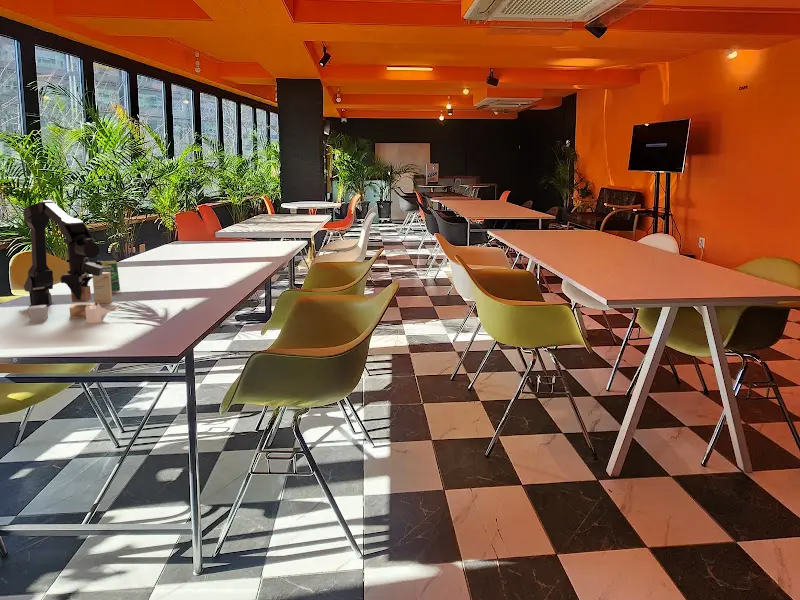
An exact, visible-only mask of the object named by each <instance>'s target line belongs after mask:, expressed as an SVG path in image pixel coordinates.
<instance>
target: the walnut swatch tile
mask: <svg viewBox="0 0 800 600" xmlns="http://www.w3.org/2000/svg"><path fill="white" fill-rule="evenodd" d="M101 307H102V308H105V309H108V310H110V311H117V310H118V309H120V308H121V307H122V305H120V304H118V305H115V304H114V305H102V306H101ZM119 307H120V308H119ZM116 309H117V310H116Z"/></svg>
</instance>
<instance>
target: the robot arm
mask: <svg viewBox="0 0 800 600" xmlns="http://www.w3.org/2000/svg"><path fill="white" fill-rule="evenodd" d="M23 217H24V221H25V223H26V225H28V227H29V229H30V241H31V243H30V244H31V258H32V259H31V262H32V263H31V266H30V268H29V269H28V271H27V278H26V279H25V280H26V281H25V283H24V284H23V288H24V291H25V292H28V293H29V300H30V301H29V302H30V305H28V307H29V306H37V305H47V307H48V306H51V304H53V301H52V293H51V292H50V290H53V288H54V276H53V275H54V273H53V270H52V269H50V267H49V266H48V265H47V262H48V261H47V244H46V242H47V241H46V238H47V237H46V228H47V227H48V226H49V224H50V219H51V220H52V221H53V222H54V223H55V224H56V225H58V227H59V231H60V233H61V234H62V235H63V237H65V239H64V241H63V243H64V244H66V249H67V259H66V263H67V264H68V268H69V270H67V273H65V274H62V275H61V276H60V283H61V284H66V285H67V287H68V288H69V290H70V292H71V291H72V292H73V294H74V295H75V297H76V298H77V299H81V286H89V282H90V281H91V279H92V280H93V275H95V276H100V275H102V272H103V270H104V269H105V268H104V266H103V262H101V261H102V260H97V261H96V262H92V261H91V262H90V259H94V258H96V257H97V256H98V255H99V254H100V247H99V245H98V244H97V243H95V242H94V239H93V237H92V233H91V232H90V231H89V229H88V227H87V225H86V224H85V223H84V221H82V220H80V219H79V218H74V217H71V216H70V215H69V214H67V212H65V211H64V210H62V208H61V207H59V206H58V205H57V203H56V202H55V201H54V200H41V201H38V202H37V203H35V204H31V205H26V207H25V208H23ZM90 275H92V276H90Z"/></svg>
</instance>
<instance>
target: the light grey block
mask: <svg viewBox="0 0 800 600" xmlns="http://www.w3.org/2000/svg"><path fill="white" fill-rule="evenodd" d="M47 307H48V306H47V305H37V306H30V307H29V308H28V314H29V323H40V322H47V321H48V319H49V314H48V308H47ZM38 321H39V322H38Z"/></svg>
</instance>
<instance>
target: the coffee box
mask: <svg viewBox="0 0 800 600" xmlns="http://www.w3.org/2000/svg"><path fill="white" fill-rule="evenodd" d="M100 261H101V262H103V266H104V268H105V269H104V270H103V272H110V275H111V288H112V291H119V289H121V285H120V278H119V276H120V275H119V270H118V269H119V268H118V262H117V259H116V260H114V259H113V260H105V261H103V260H100Z"/></svg>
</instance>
